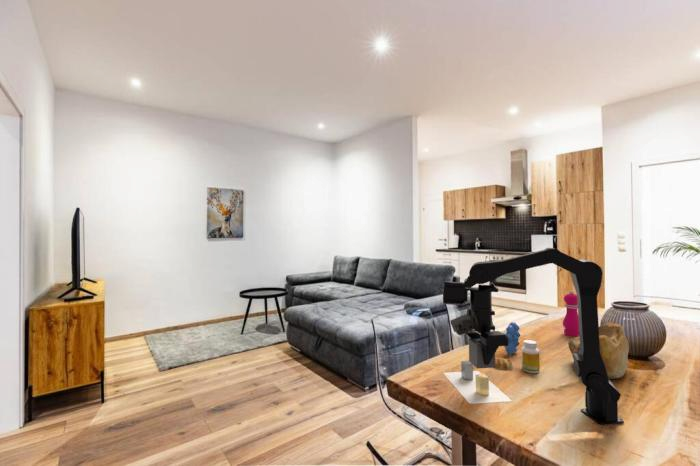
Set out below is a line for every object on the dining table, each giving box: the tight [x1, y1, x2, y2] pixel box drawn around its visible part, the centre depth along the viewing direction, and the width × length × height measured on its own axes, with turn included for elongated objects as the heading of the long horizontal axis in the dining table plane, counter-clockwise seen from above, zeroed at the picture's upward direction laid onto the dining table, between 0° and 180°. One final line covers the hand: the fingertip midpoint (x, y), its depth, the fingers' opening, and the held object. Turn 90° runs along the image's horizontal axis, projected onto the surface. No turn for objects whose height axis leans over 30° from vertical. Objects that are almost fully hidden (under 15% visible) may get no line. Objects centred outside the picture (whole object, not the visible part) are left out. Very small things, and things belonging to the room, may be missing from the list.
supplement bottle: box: [520, 339, 541, 374], centre depth 114 cm, size 5×5×10 cm
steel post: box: [460, 360, 474, 380], centre depth 106 cm, size 3×3×5 cm
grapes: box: [502, 321, 521, 356], centre depth 130 cm, size 12×7×12 cm, turn 136°
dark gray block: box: [468, 338, 496, 369], centre depth 96 cm, size 5×5×7 cm
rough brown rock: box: [567, 321, 630, 380], centre depth 115 cm, size 23×17×15 cm
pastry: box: [494, 357, 514, 371], centre depth 116 cm, size 9×7×4 cm
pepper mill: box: [562, 289, 580, 337], centre depth 151 cm, size 7×7×20 cm
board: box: [443, 370, 513, 405], centre depth 101 cm, size 20×12×1 cm, turn 5°
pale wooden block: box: [476, 373, 490, 396], centre depth 96 cm, size 3×3×5 cm
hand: (481, 360), depth 96 cm, fingers closed on dark gray block, 5 cm apart
